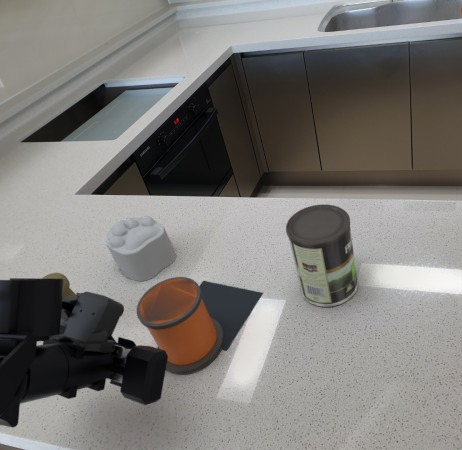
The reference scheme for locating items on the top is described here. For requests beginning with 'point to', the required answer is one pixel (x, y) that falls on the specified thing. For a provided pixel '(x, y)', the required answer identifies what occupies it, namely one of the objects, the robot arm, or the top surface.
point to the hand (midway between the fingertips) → (147, 351)
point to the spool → (181, 324)
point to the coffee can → (323, 254)
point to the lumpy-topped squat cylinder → (140, 247)
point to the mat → (228, 307)
